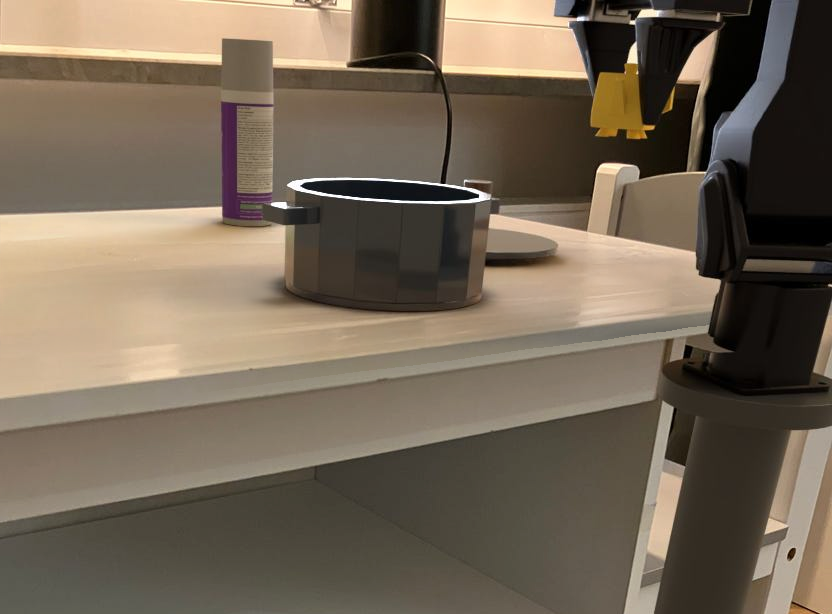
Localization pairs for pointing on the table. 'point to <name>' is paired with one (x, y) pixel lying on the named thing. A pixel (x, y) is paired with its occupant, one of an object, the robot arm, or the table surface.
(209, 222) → the table surface
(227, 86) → the container
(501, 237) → the lid
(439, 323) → the table surface
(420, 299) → the pot
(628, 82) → the teapot
